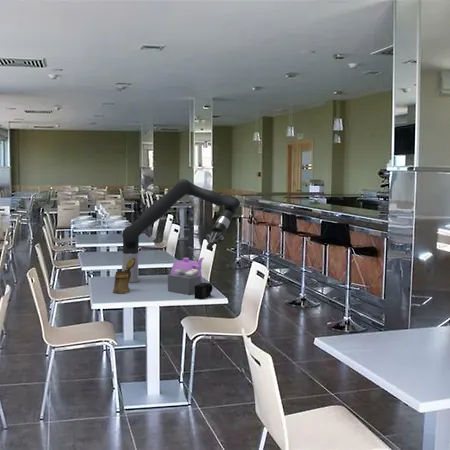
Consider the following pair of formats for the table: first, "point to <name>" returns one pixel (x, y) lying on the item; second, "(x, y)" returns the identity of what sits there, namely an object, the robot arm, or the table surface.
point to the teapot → (187, 266)
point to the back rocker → (181, 271)
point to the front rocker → (191, 272)
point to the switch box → (183, 283)
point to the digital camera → (203, 290)
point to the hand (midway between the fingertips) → (208, 248)
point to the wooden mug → (123, 279)
